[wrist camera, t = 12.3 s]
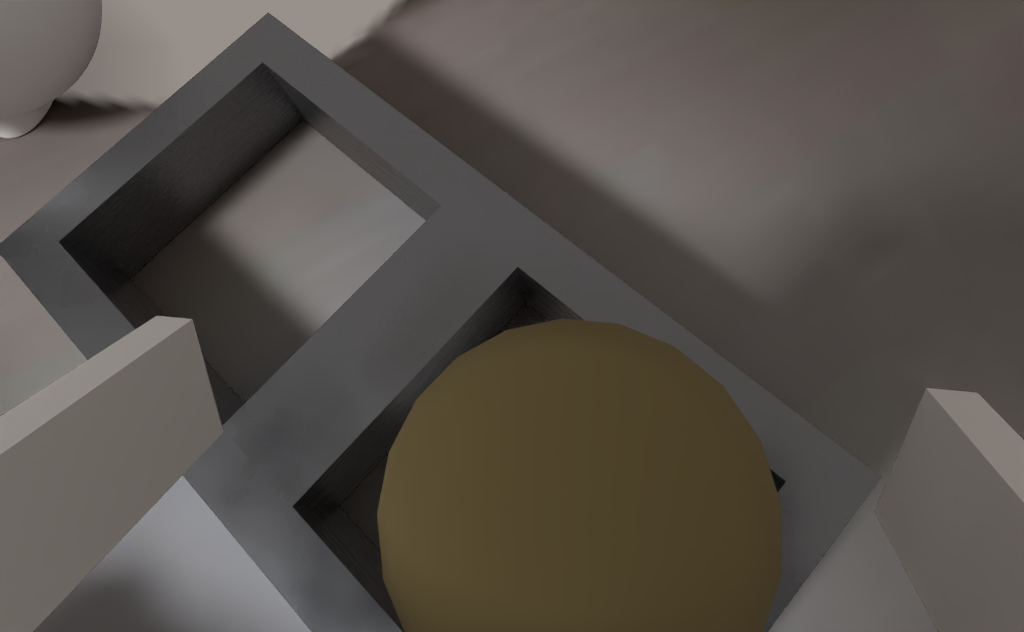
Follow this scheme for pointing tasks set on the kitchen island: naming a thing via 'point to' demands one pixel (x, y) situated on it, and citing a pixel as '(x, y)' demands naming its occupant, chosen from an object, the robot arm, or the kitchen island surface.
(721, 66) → the kitchen island surface
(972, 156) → the kitchen island surface
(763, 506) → the cork
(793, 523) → the cinder block
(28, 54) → the white rounded piece
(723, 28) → the kitchen island surface
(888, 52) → the kitchen island surface
